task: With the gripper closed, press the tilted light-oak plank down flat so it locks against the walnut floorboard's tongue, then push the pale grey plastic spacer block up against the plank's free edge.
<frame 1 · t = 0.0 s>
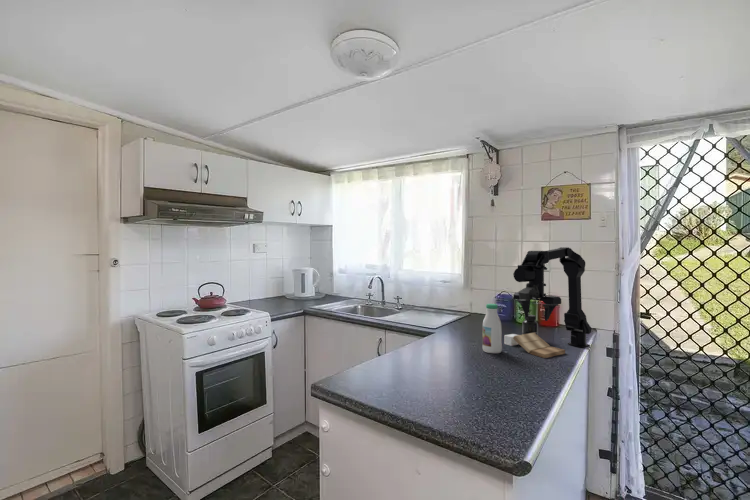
hand: (536, 318, 146), 15 cm above the counter, fingers open, 9 cm apart
milk bottle: (491, 351, 150), on the counter
supplement bottle: (530, 341, 167), on the counter
plank: (531, 342, 153), point 3 cm above the counter, hinge at 28.0°
spacer: (512, 344, 162), on the counter
floorboard: (548, 353, 146), on the counter
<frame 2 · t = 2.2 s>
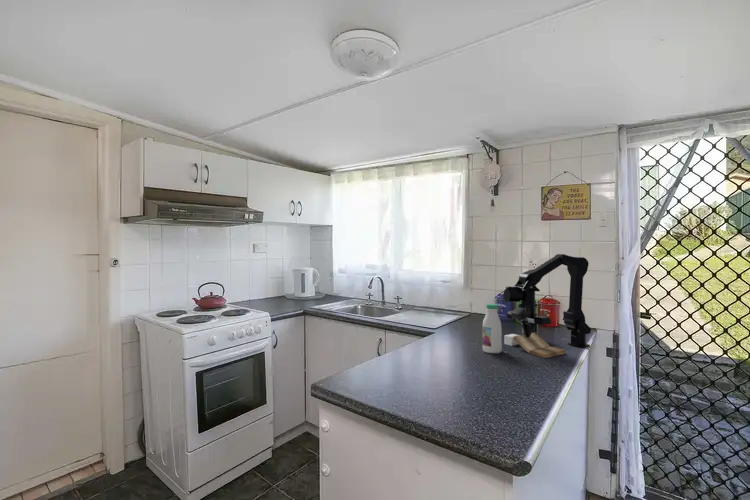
hand: (527, 337, 155), 5 cm above the counter, fingers closed
plank: (531, 342, 153), point 3 cm above the counter, hinge at 27.1°, touching gripper
everything else where it was.
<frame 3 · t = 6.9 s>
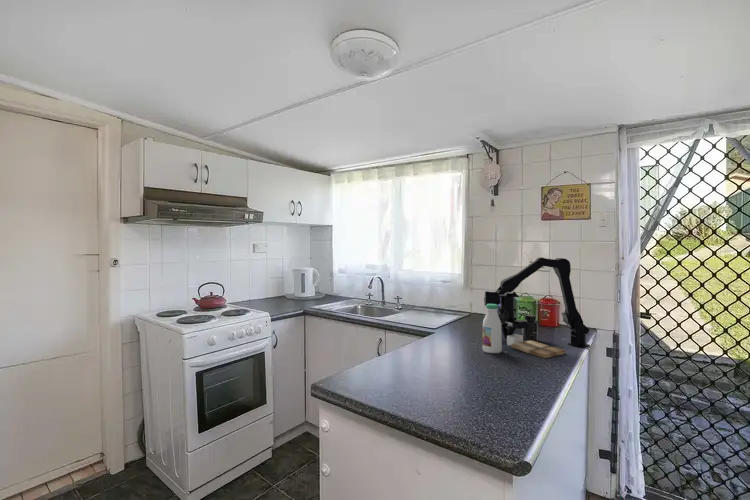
hand: (507, 339, 164), 1 cm above the counter, fingers closed
plank: (529, 346, 154), point 1 cm above the counter, hinge at 1.8°
spacer: (514, 344, 160), on the counter, touching gripper
everything else where it was.
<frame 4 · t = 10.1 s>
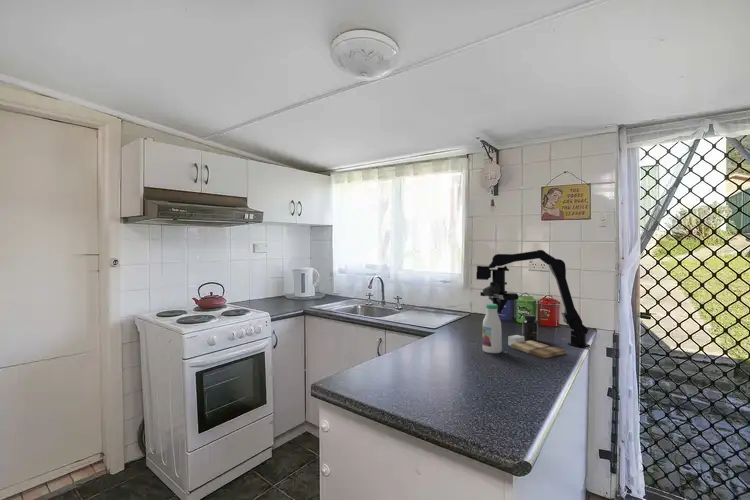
hand: (498, 312, 169), 13 cm above the counter, fingers closed
spacer: (516, 345, 160), on the counter
everything else where it was.
at the end: plank at +2° (first picture: +28°); spacer inside the target area (0.3 cm from its centre), on the counter; spacer tilted 0° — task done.
